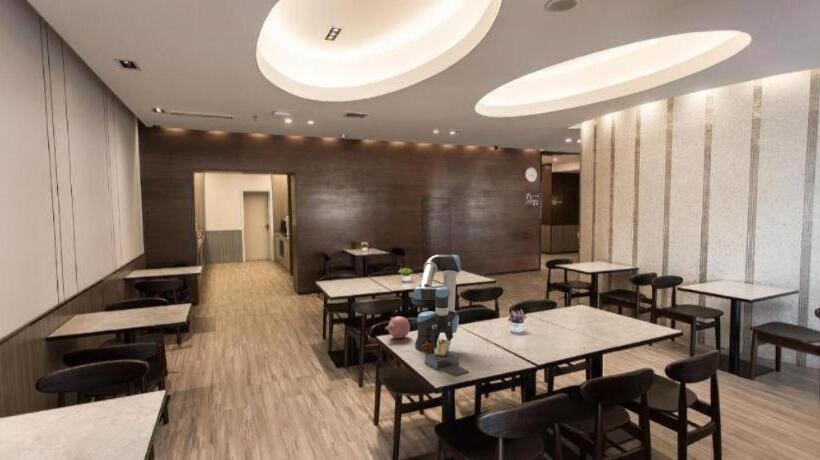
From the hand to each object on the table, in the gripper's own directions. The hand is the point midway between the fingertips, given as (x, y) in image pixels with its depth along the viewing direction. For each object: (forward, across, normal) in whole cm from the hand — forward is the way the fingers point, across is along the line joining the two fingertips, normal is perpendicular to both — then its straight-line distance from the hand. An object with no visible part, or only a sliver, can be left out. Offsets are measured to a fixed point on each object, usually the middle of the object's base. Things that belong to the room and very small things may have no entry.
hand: (441, 352), depth 237 cm
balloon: (+7, +2, +54) cm, 55 cm away
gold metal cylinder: (+7, 0, 0) cm, 7 cm away
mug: (+7, 0, +13) cm, 15 cm away
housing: (+7, 0, 0) cm, 7 cm away
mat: (+7, 0, -13) cm, 15 cm away
